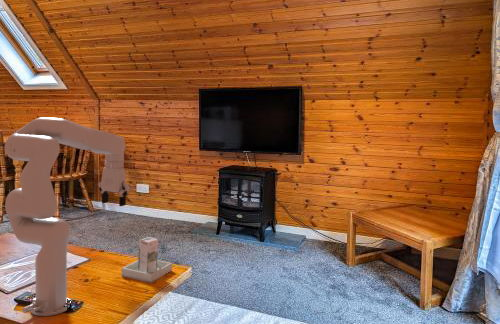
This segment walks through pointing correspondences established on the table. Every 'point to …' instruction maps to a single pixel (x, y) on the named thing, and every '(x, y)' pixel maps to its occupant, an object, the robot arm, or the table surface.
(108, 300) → the table surface
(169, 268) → the tray
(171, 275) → the table surface
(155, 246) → the syrup box
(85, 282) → the table surface
